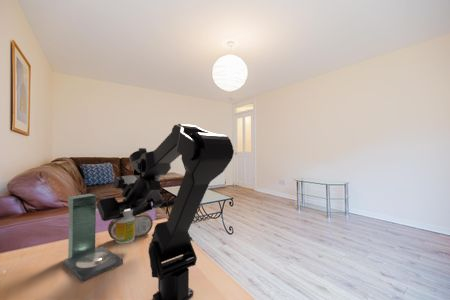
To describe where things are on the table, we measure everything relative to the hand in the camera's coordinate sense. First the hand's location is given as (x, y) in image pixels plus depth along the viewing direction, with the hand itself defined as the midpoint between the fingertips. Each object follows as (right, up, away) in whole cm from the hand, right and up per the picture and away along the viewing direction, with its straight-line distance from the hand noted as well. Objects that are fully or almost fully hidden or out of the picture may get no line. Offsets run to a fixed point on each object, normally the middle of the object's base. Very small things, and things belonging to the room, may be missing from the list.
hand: (123, 218), depth 64 cm
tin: (-2, -10, +9) cm, 14 cm away
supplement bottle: (+1, -7, -1) cm, 7 cm away
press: (-9, -10, -5) cm, 14 cm away
